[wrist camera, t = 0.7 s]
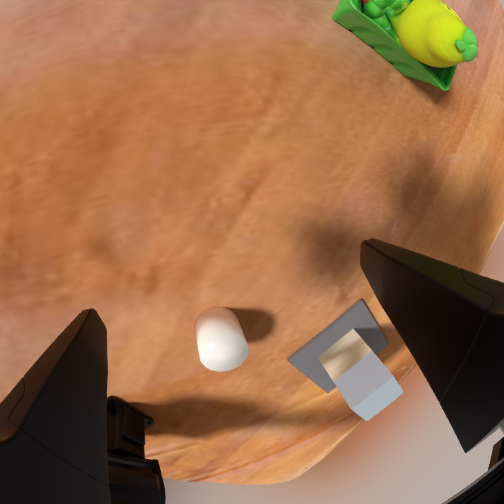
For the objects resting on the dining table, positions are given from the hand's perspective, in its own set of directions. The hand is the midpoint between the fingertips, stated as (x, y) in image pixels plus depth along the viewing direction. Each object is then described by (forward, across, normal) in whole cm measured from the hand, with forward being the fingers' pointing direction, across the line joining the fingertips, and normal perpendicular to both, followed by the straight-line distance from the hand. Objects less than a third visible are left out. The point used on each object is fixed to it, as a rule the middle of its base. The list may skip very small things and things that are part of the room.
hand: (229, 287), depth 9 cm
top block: (+8, -11, +22) cm, 26 cm away
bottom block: (+12, -10, +23) cm, 28 cm away
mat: (+12, -10, +23) cm, 28 cm away
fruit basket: (+17, -17, -10) cm, 26 cm away
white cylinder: (+12, +2, +13) cm, 18 cm away
